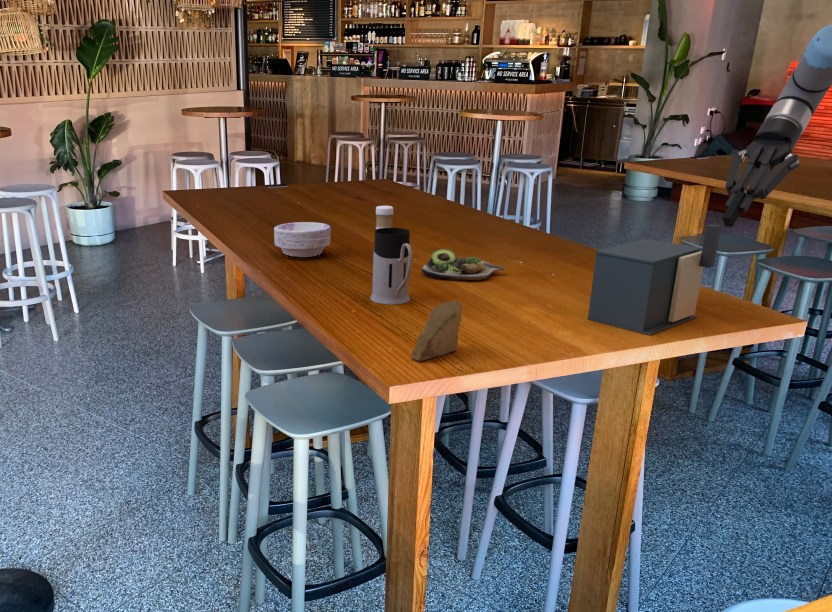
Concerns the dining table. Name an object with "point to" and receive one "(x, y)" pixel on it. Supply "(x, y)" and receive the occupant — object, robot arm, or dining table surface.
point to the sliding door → (693, 275)
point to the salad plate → (457, 267)
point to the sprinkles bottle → (384, 217)
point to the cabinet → (636, 285)
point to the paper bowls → (302, 238)
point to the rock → (439, 332)
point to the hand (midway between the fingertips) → (727, 222)
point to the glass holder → (391, 266)
